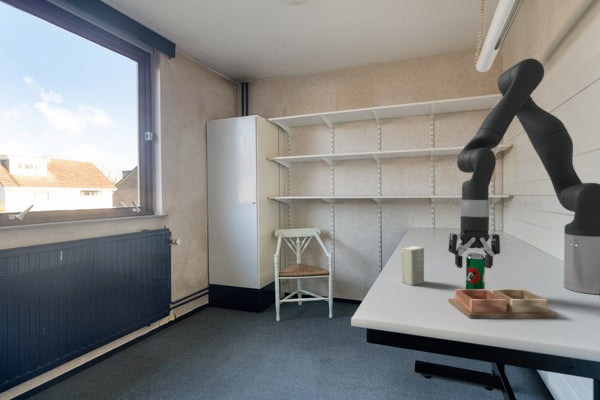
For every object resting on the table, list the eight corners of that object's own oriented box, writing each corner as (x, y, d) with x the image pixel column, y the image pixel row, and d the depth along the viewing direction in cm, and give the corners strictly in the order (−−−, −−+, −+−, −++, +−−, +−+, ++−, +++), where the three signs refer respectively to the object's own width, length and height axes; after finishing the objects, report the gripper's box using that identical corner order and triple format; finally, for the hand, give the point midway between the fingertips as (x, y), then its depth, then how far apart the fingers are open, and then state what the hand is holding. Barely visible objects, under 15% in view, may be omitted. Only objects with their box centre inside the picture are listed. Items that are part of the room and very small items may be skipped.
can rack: (524, 301, 85) (524, 287, 85) (556, 318, 74) (556, 301, 74) (448, 302, 86) (448, 287, 86) (469, 318, 75) (469, 302, 75)
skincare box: (414, 279, 108) (414, 245, 107) (424, 283, 104) (424, 247, 104) (401, 282, 105) (401, 247, 104) (411, 285, 101) (411, 249, 101)
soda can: (487, 296, 90) (487, 256, 90) (469, 295, 91) (469, 255, 91) (481, 291, 95) (481, 252, 95) (463, 290, 96) (463, 252, 96)
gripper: (491, 214, 96) (490, 265, 97) (445, 213, 97) (444, 264, 97) (506, 215, 89) (505, 271, 89) (456, 215, 89) (455, 270, 89)
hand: (473, 267), depth 93 cm, fingers open, 8 cm apart
